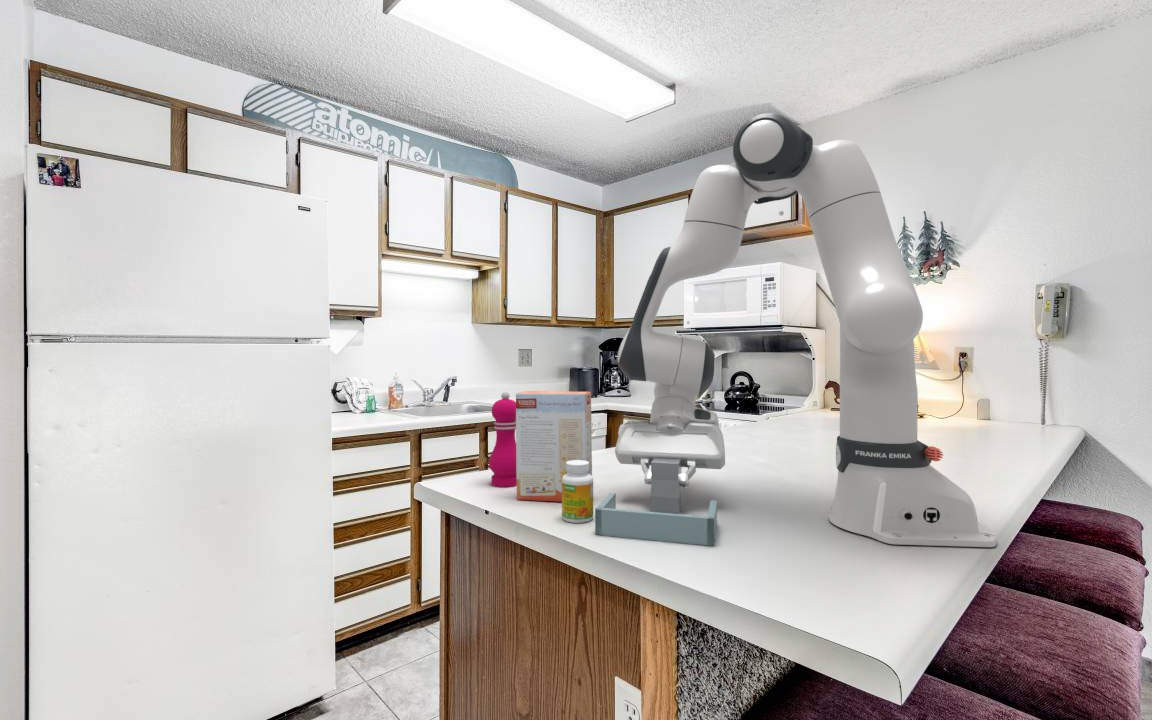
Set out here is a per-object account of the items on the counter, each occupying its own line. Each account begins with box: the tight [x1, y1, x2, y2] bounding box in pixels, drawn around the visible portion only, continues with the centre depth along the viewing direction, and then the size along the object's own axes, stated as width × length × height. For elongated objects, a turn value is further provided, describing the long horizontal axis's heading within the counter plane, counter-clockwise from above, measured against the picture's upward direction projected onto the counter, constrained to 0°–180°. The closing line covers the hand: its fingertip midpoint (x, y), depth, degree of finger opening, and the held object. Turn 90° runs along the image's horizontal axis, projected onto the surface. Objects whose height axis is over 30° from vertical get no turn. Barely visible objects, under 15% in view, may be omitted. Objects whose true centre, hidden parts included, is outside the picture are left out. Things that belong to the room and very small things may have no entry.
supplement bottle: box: [561, 460, 594, 524], centre depth 92 cm, size 5×5×10 cm
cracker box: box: [515, 390, 593, 503], centre depth 105 cm, size 14×6×21 cm, turn 77°
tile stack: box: [650, 458, 683, 514], centre depth 97 cm, size 5×5×9 cm
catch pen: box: [594, 492, 718, 547], centre depth 86 cm, size 18×10×4 cm, turn 73°
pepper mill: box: [488, 391, 517, 488], centre depth 117 cm, size 7×7×20 cm
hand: (666, 484), depth 96 cm, fingers closed on tile stack, 5 cm apart
